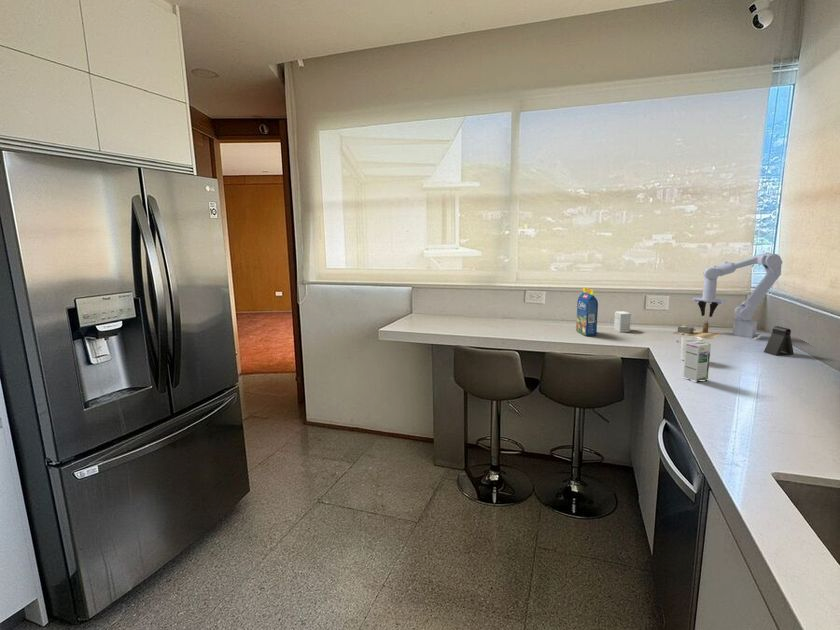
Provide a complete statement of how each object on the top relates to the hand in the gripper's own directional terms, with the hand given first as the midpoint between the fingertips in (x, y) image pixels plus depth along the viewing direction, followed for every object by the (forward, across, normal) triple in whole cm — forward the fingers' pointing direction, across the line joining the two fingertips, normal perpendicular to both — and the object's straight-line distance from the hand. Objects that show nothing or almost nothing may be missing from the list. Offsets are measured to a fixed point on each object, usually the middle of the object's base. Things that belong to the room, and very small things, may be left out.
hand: (706, 316), depth 232 cm
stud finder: (+9, +7, +7) cm, 13 cm away
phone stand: (+10, -35, +16) cm, 40 cm away
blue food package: (+10, +44, +42) cm, 62 cm away
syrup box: (+10, -24, +80) cm, 85 cm away
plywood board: (+10, +2, +6) cm, 12 cm away
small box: (+10, +34, +22) cm, 42 cm away
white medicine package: (+10, -13, +56) cm, 58 cm away
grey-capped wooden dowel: (+9, 0, 0) cm, 9 cm away
